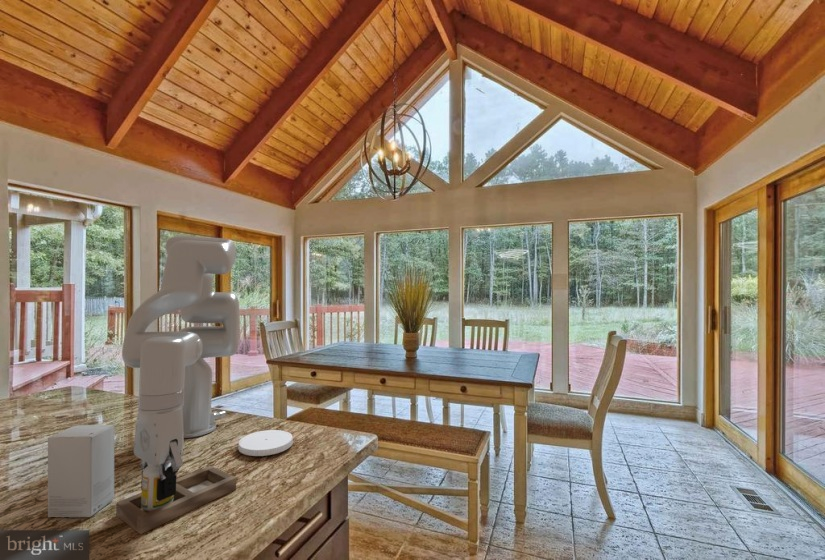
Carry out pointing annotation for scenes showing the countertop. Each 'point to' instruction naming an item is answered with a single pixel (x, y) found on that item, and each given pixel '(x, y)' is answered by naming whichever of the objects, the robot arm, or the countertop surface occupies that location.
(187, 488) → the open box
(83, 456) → the skincare box
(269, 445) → the plastic lid
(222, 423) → the countertop surface
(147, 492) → the supplement bottle
